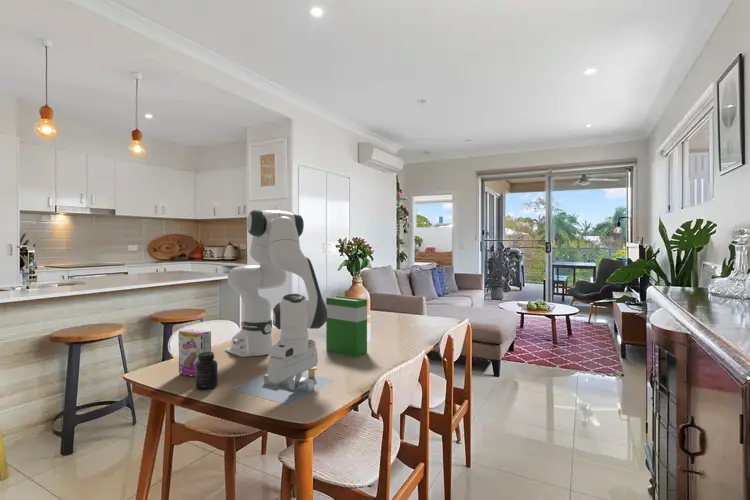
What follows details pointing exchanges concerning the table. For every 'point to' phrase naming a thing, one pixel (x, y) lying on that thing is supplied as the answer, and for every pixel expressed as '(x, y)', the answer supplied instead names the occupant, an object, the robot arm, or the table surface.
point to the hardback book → (346, 325)
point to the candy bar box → (192, 348)
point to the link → (304, 386)
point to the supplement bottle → (206, 372)
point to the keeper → (312, 372)
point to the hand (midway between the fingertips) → (294, 387)
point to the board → (278, 389)
